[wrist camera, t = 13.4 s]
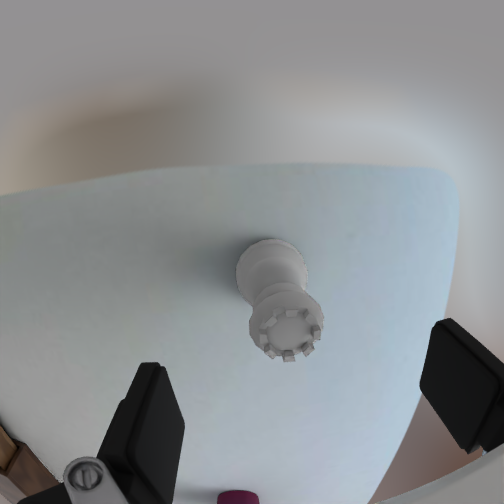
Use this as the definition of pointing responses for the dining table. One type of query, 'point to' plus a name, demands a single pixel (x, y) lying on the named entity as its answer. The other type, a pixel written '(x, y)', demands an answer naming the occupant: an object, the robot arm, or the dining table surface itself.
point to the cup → (238, 498)
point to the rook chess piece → (279, 299)
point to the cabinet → (24, 475)
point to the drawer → (6, 450)
